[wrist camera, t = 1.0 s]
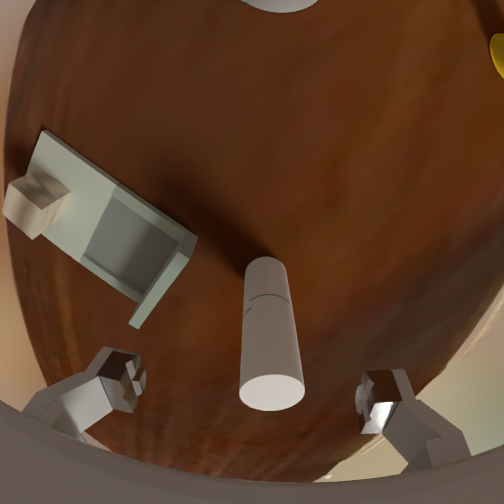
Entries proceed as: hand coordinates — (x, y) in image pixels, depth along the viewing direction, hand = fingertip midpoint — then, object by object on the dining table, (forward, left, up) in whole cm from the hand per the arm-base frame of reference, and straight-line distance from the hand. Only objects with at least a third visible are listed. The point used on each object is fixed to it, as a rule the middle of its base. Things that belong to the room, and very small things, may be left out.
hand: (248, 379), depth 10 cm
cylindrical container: (+19, -5, -38) cm, 43 cm away
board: (-2, -29, -38) cm, 48 cm away
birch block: (-11, -34, -37) cm, 51 cm away
